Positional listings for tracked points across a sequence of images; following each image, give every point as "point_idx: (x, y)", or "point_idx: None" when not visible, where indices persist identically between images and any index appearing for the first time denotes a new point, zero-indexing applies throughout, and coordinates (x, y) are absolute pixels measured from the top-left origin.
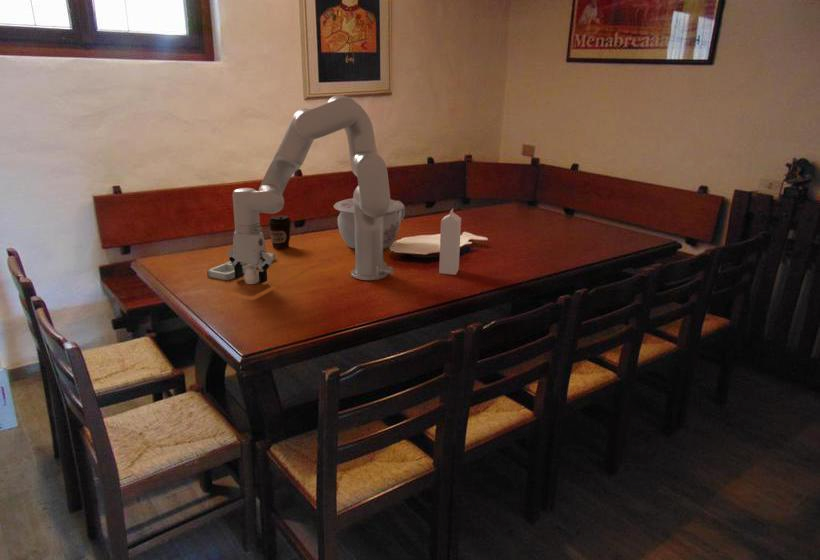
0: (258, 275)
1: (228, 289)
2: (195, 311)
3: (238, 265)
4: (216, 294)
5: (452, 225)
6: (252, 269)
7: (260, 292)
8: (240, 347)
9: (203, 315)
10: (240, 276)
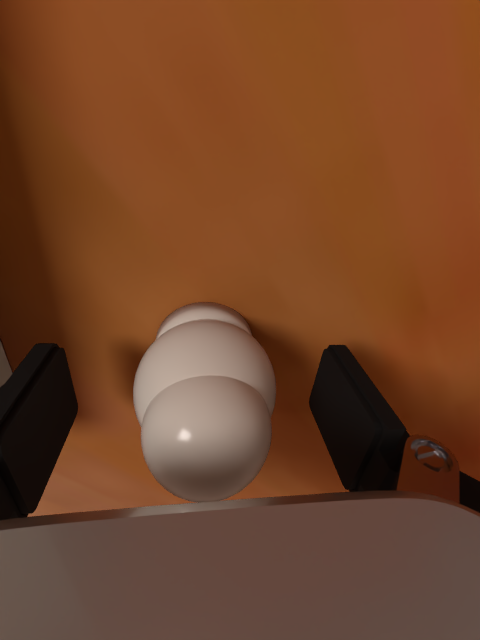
0: (274, 382)
1: (125, 451)
2: None
3: (5, 500)
4: (128, 505)
5: None
6: (249, 481)
7: None
8: None
9: None
10: (69, 378)
